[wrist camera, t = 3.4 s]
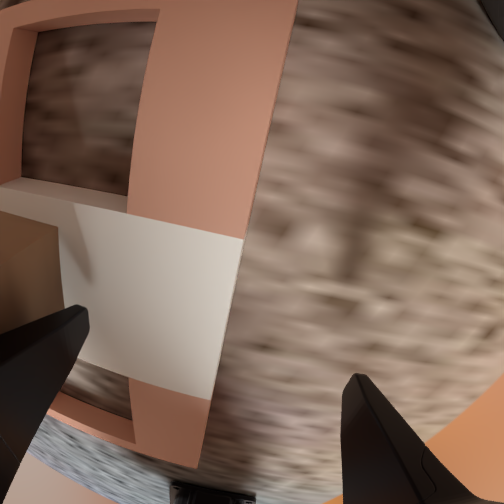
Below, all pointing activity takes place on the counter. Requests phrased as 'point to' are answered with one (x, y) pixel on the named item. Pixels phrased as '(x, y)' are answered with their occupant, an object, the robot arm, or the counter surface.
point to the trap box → (156, 204)
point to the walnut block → (28, 271)
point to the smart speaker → (496, 14)
